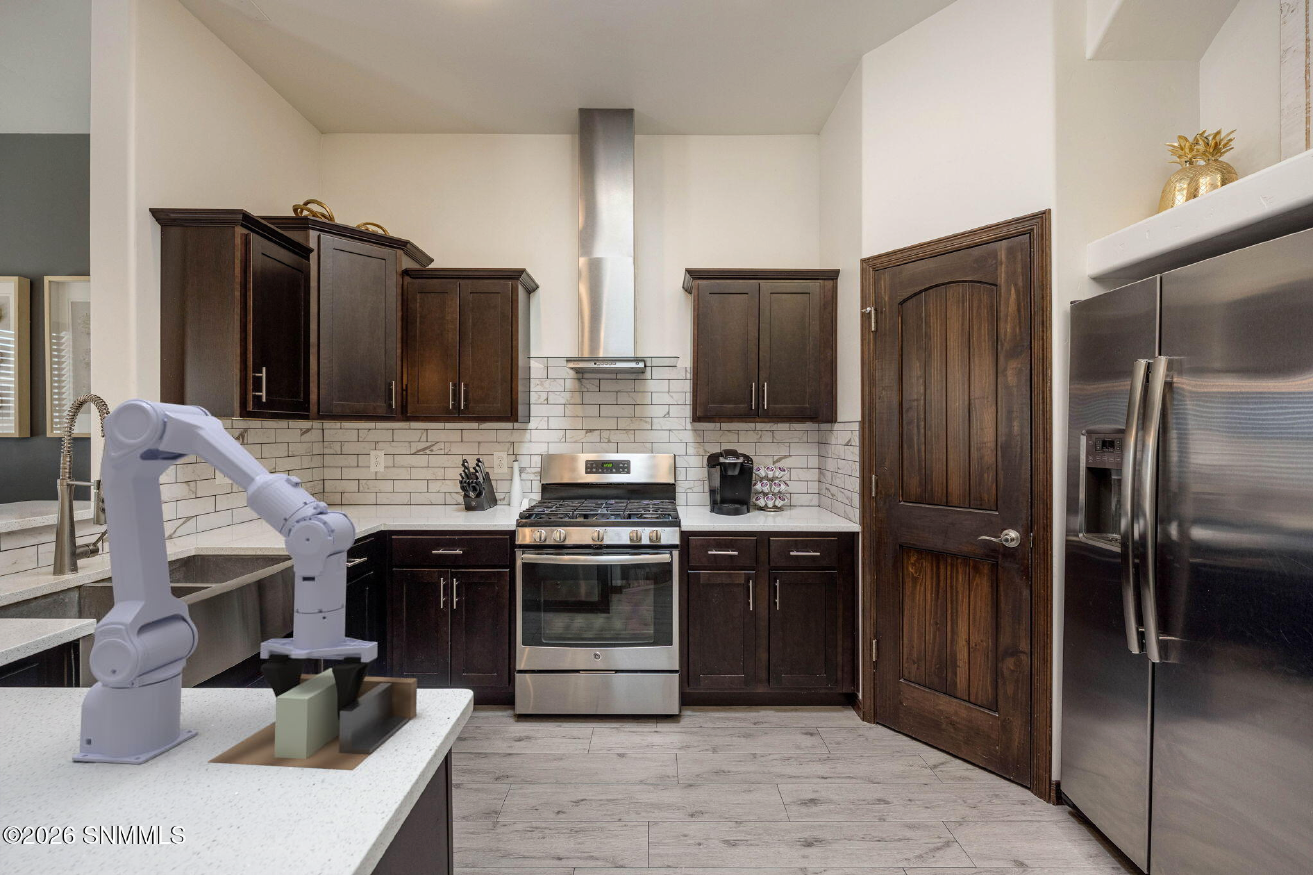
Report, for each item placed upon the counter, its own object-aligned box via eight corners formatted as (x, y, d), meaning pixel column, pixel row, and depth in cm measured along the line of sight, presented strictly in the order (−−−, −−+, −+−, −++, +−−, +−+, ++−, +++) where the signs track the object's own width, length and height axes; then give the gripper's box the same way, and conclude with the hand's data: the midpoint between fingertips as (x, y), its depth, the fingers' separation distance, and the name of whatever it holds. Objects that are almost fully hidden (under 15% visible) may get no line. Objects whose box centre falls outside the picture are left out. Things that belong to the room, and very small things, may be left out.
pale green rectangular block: (329, 720, 79) (330, 668, 80) (356, 721, 79) (358, 669, 79) (274, 757, 69) (276, 697, 70) (305, 758, 69) (307, 698, 69)
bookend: (339, 752, 70) (339, 710, 71) (380, 720, 79) (381, 682, 80) (369, 754, 70) (370, 712, 70) (408, 721, 79) (408, 683, 79)
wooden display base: (207, 770, 68) (208, 718, 68) (294, 716, 83) (296, 673, 83) (352, 778, 67) (353, 725, 67) (416, 722, 81) (417, 678, 81)
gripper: (242, 614, 71) (239, 727, 71) (354, 617, 70) (352, 733, 69) (284, 600, 78) (281, 703, 78) (387, 603, 77) (385, 708, 76)
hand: (317, 715), depth 74 cm, fingers open, 7 cm apart
